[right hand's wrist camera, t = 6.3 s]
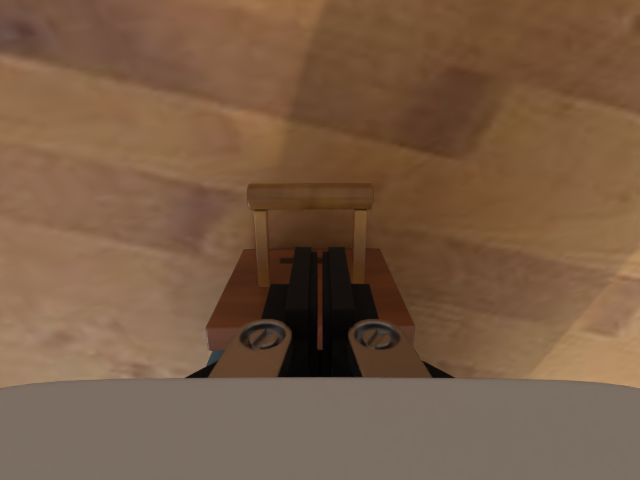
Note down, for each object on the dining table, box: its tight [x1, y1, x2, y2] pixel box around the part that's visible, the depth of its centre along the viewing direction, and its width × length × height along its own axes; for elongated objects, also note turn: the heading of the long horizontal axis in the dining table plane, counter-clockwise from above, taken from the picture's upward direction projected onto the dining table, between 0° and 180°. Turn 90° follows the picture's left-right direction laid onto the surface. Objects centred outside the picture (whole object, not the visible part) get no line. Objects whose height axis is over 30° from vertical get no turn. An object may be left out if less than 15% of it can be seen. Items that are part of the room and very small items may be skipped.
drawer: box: [205, 183, 415, 377], centre depth 21 cm, size 18×9×9 cm, turn 0°
